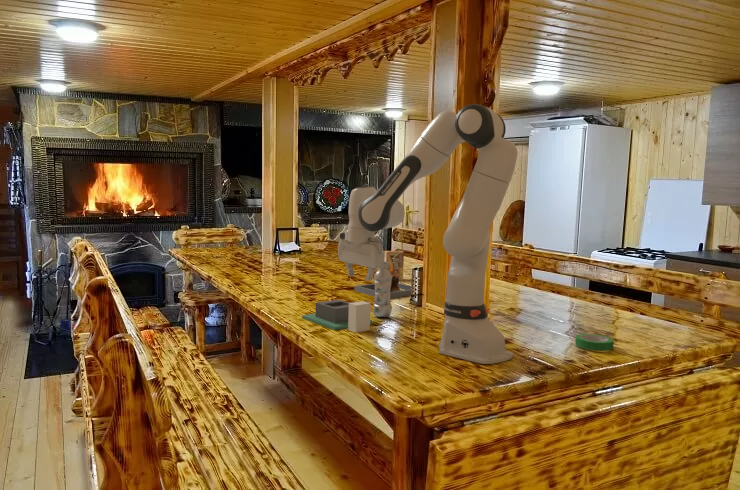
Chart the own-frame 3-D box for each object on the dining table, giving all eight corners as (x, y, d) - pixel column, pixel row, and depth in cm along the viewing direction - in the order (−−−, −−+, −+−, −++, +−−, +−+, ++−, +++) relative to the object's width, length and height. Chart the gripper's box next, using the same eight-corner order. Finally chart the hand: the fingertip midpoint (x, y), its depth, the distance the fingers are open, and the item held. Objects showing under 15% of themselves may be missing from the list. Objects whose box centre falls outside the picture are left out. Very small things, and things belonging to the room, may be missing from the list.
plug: (369, 330, 192) (370, 303, 191) (355, 332, 189) (356, 305, 188) (362, 327, 195) (363, 301, 194) (348, 329, 192) (348, 303, 191)
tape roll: (575, 339, 188) (576, 331, 188) (612, 344, 184) (613, 335, 184) (574, 348, 178) (575, 340, 177) (613, 353, 174) (614, 344, 173)
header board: (372, 323, 201) (372, 306, 200) (334, 330, 191) (335, 312, 190) (338, 312, 216) (338, 296, 215) (302, 318, 206) (302, 301, 205)
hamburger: (397, 298, 247) (398, 274, 246) (368, 296, 250) (369, 273, 249) (404, 291, 262) (405, 269, 261) (377, 289, 265) (377, 268, 264)
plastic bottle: (389, 319, 207) (391, 264, 205) (371, 318, 208) (372, 263, 206) (392, 315, 213) (394, 261, 211) (374, 314, 215) (376, 260, 213)
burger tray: (422, 295, 254) (423, 288, 254) (384, 300, 240) (384, 293, 240) (392, 287, 270) (392, 281, 269) (354, 292, 256) (354, 285, 256)
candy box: (400, 281, 289) (401, 250, 287) (403, 282, 285) (404, 251, 283) (383, 281, 287) (384, 250, 285) (385, 283, 283) (386, 251, 281)
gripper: (389, 239, 183) (387, 282, 184) (350, 233, 198) (349, 272, 200) (373, 240, 179) (372, 284, 180) (335, 233, 194) (334, 274, 196)
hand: (359, 278), depth 190 cm, fingers open, 8 cm apart
